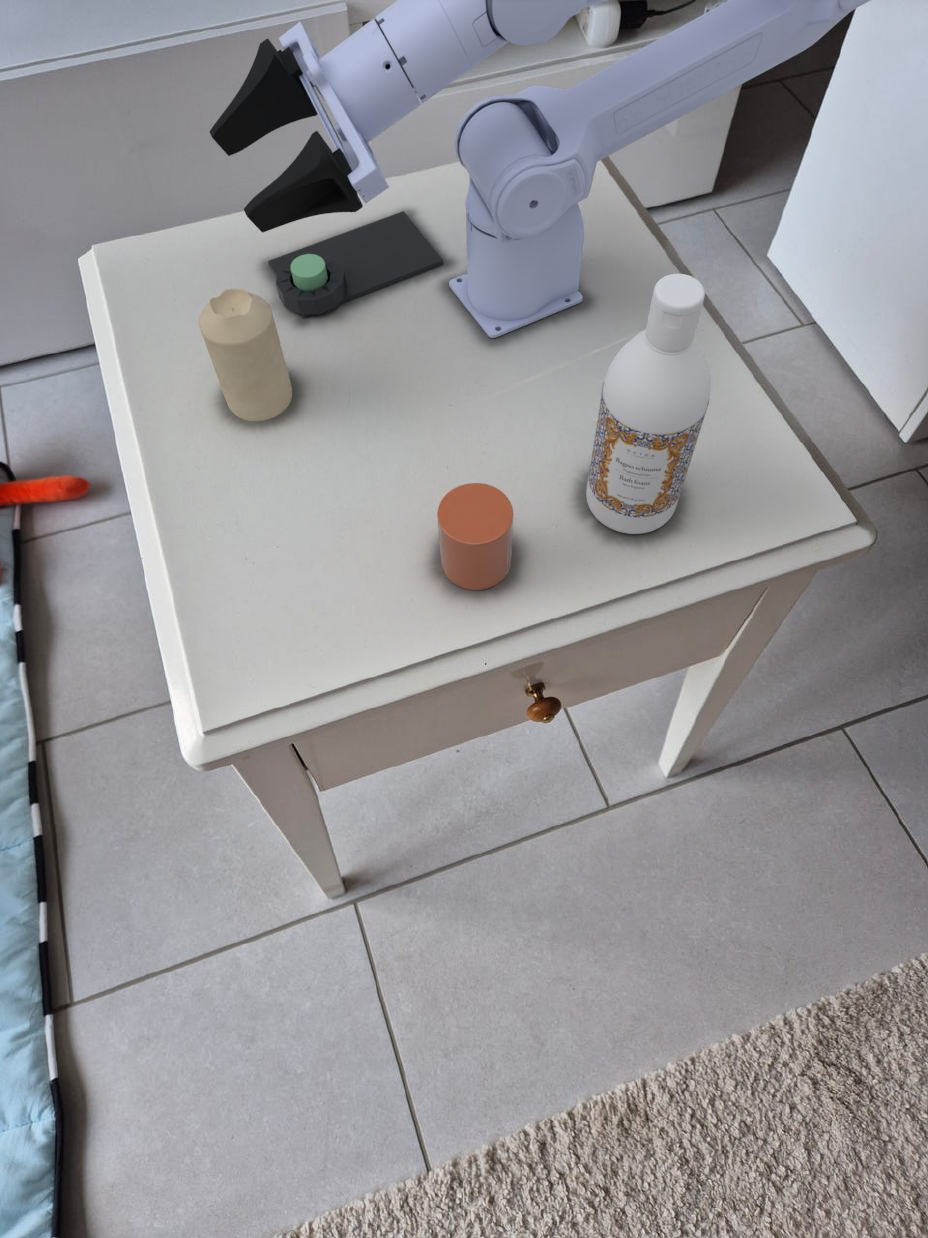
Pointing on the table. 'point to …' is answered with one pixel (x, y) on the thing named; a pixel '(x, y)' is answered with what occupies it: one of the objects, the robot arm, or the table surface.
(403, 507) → the table surface
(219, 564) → the table surface
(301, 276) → the button
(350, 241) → the scale
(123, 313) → the table surface
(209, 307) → the candle
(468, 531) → the orange cylinder
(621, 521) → the bath foam
